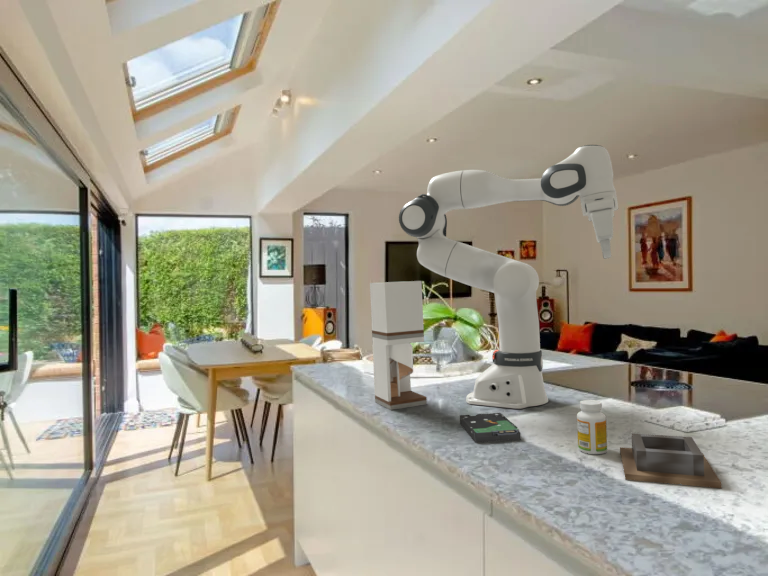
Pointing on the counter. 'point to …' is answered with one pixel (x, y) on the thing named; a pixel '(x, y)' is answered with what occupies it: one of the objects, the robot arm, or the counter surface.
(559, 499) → the counter surface
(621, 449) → the socket board
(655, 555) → the counter surface
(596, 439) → the supplement bottle
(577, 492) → the counter surface
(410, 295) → the white tower
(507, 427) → the disk drive
